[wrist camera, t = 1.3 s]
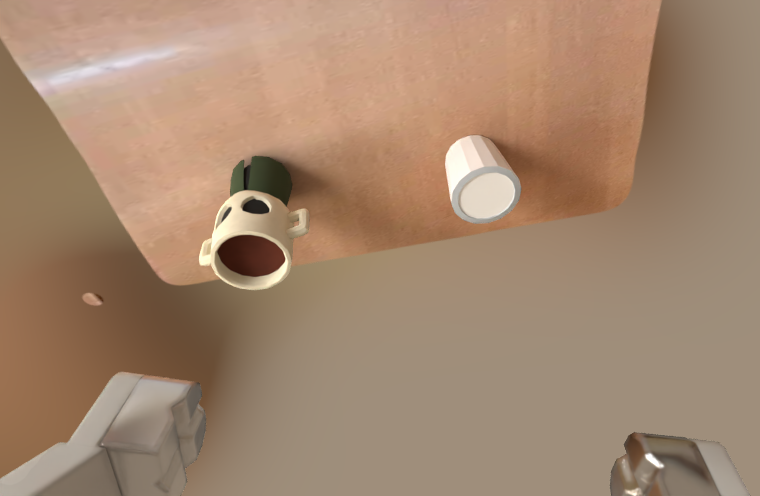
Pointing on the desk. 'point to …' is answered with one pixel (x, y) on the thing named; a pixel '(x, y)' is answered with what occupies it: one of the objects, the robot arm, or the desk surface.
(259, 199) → the character mug
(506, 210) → the white tapered cup
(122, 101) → the desk surface
